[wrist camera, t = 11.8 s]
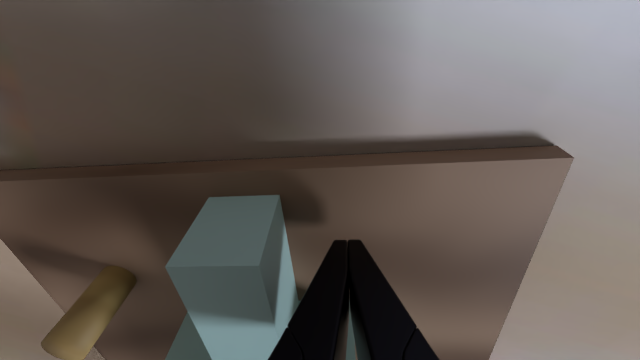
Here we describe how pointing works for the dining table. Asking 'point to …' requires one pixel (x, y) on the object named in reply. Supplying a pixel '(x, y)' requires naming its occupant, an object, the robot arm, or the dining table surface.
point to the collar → (235, 281)
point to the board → (302, 233)
